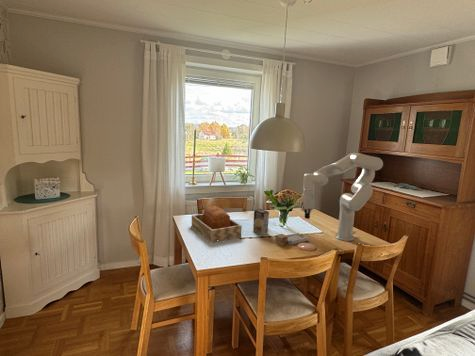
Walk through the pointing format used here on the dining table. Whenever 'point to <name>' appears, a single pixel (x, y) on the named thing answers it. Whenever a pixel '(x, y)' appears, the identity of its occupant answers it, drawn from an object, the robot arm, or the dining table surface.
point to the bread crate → (216, 233)
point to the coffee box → (260, 221)
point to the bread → (216, 218)
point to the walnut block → (281, 239)
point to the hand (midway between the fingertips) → (307, 218)
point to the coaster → (306, 246)
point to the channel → (297, 239)
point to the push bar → (292, 238)
